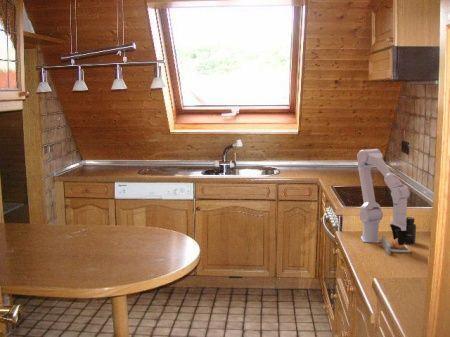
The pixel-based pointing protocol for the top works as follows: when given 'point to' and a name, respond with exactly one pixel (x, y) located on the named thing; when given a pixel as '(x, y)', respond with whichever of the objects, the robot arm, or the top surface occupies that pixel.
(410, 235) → the supplement bottle
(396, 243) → the coral ball
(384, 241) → the grey wall
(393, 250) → the mat
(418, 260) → the top surface
